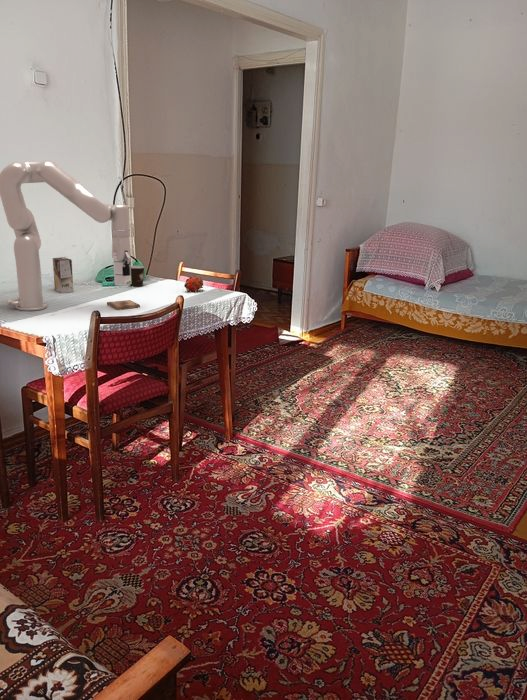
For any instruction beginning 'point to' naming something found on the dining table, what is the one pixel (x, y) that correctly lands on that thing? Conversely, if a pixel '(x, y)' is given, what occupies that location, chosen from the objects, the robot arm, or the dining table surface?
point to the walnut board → (123, 304)
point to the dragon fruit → (193, 284)
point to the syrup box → (120, 272)
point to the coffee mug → (137, 276)
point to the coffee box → (63, 274)
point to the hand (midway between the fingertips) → (122, 273)
